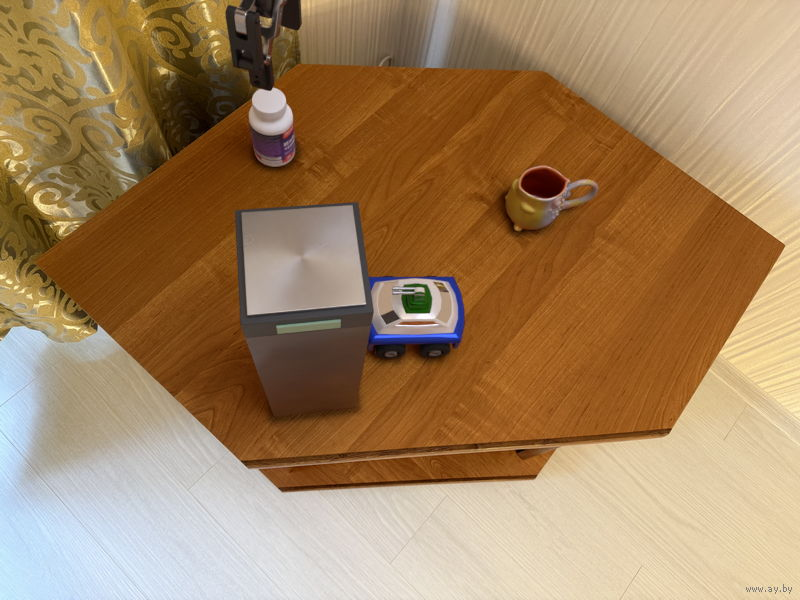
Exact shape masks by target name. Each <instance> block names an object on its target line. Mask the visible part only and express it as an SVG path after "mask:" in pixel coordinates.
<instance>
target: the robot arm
mask: <svg viewBox="0 0 800 600" xmlns="http://www.w3.org/2000/svg"><path fill="white" fill-rule="evenodd" d="M261 18H266V19H268V20H269V19H270V20H271V21H270V22H271V23H270V26H268V25H264V24H263V22H262V20H261ZM225 22H226V28H227V35H228V43H229V47H230V55H231V60H232V61H231V63H232V67H233V68H236V69H240V70H245V71H247V72H248V78H249V83H250V85H251V87H252V88H256V89H263V90H267V91H271V90H272V88H274V86H275V75H274V68H273V58H272V55H273V54H272V53H273V45H274V40H275V39H276V38H278V37H279V36H280V34H281V27H282V28H286V29H290V30H294V31H299V30H300V28H301V26H302V25H303V17H302V0H240V2H239V5H238V6H235V5H232V4H228V5H227V6H226V9H225ZM262 37H263V38H262Z"/></svg>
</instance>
